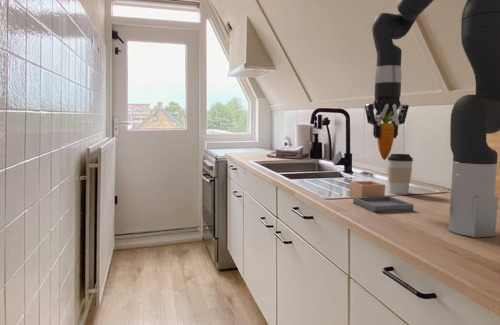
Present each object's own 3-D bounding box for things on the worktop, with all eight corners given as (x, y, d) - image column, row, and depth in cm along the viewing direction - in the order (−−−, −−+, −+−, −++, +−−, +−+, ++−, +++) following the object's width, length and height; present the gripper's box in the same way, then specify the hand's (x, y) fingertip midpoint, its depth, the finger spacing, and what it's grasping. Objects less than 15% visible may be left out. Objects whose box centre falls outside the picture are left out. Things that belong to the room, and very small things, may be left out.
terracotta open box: (384, 200, 131) (385, 184, 130) (361, 201, 129) (362, 185, 128) (371, 195, 139) (371, 180, 139) (349, 196, 137) (349, 181, 137)
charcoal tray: (413, 210, 116) (413, 204, 116) (374, 212, 113) (374, 206, 113) (388, 201, 129) (388, 196, 129) (353, 203, 126) (353, 197, 126)
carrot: (372, 159, 121) (374, 111, 119) (385, 158, 123) (387, 111, 121) (383, 160, 116) (385, 111, 114) (396, 160, 118) (398, 111, 116)
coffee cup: (380, 191, 148) (382, 152, 147) (399, 190, 152) (401, 152, 150) (397, 195, 140) (399, 154, 138) (416, 194, 143) (419, 154, 142)
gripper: (373, 80, 112) (370, 138, 113) (416, 81, 115) (413, 138, 117) (360, 82, 119) (358, 137, 121) (401, 83, 122) (398, 137, 124)
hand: (385, 137), depth 119 cm, fingers closed on carrot, 5 cm apart
